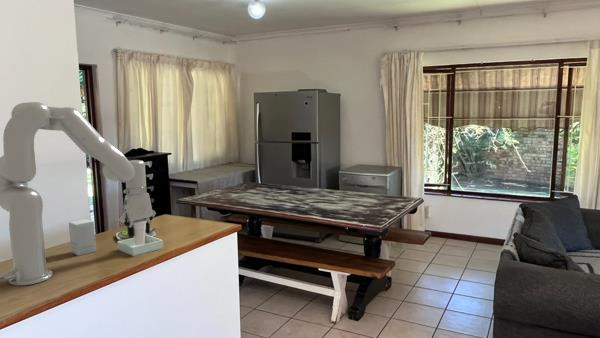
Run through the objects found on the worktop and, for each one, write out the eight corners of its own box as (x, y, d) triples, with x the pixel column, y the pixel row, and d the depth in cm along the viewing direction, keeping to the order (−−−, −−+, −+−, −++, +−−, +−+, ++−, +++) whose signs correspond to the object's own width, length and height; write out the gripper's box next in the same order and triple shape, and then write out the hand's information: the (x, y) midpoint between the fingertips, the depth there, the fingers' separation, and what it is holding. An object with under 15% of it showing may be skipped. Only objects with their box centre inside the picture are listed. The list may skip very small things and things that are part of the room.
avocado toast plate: (161, 240, 193) (161, 230, 193) (117, 246, 186) (117, 236, 185) (155, 230, 211) (154, 220, 210) (114, 235, 203) (114, 225, 202)
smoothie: (142, 246, 177) (140, 212, 175) (128, 245, 178) (125, 211, 176) (151, 241, 183) (149, 208, 181) (137, 241, 184) (134, 208, 182)
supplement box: (96, 251, 179) (94, 221, 177) (77, 256, 173) (75, 224, 172) (89, 247, 184) (87, 218, 182) (70, 252, 178) (68, 221, 177)
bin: (133, 256, 172) (133, 247, 171) (117, 249, 180) (117, 241, 180) (163, 248, 181) (162, 240, 181) (146, 242, 190) (146, 234, 190)
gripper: (120, 195, 169) (123, 241, 171) (160, 189, 181) (163, 231, 184) (111, 193, 174) (114, 237, 176) (151, 187, 186) (153, 228, 189)
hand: (139, 234), depth 180 cm, fingers closed on smoothie, 6 cm apart
